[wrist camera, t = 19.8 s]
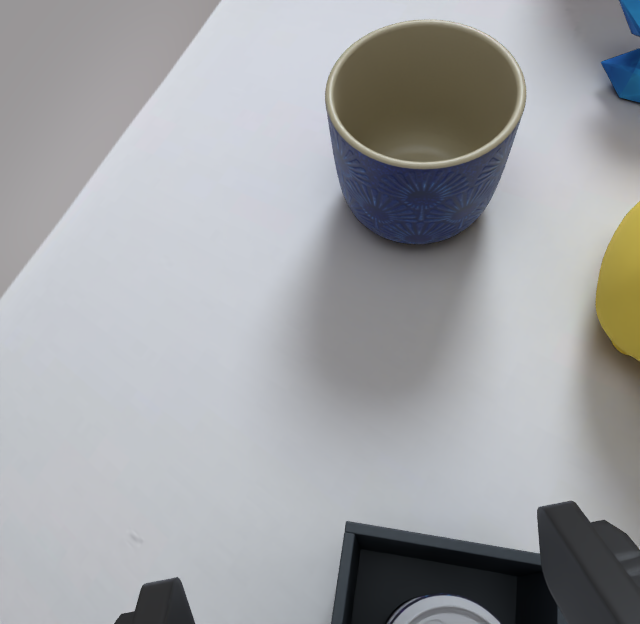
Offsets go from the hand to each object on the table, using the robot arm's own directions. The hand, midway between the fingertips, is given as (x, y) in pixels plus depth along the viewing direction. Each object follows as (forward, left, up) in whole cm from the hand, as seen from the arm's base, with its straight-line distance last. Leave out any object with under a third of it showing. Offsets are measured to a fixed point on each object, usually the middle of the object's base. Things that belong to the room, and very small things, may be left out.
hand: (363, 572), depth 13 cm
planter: (+29, +1, -25) cm, 38 cm away
